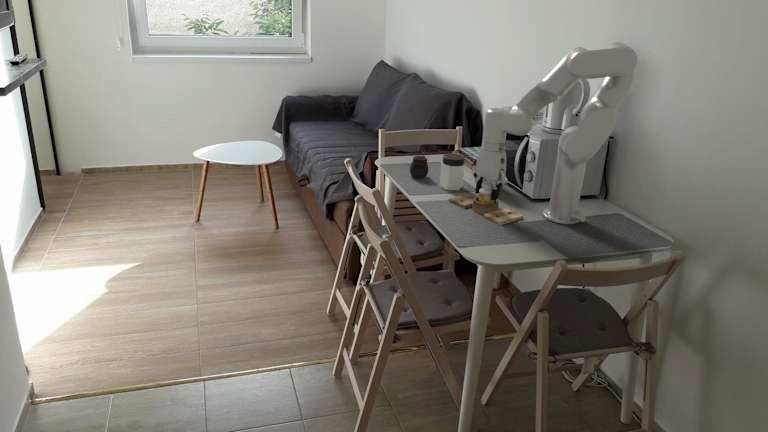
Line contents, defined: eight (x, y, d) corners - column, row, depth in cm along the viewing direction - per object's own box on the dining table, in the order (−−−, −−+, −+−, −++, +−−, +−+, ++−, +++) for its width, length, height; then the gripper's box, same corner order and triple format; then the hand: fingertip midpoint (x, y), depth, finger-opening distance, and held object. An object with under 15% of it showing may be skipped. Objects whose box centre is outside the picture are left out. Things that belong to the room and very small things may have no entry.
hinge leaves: (522, 218, 215) (524, 208, 214) (501, 224, 209) (502, 215, 207) (470, 195, 233) (471, 186, 232) (448, 201, 226) (449, 191, 225)
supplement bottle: (493, 212, 218) (497, 186, 215) (478, 211, 218) (481, 185, 215) (491, 207, 223) (494, 181, 220) (476, 206, 223) (479, 180, 220)
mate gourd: (407, 178, 247) (409, 153, 243) (412, 172, 254) (414, 148, 250) (425, 181, 245) (427, 156, 241) (429, 175, 252) (431, 151, 248)
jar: (457, 192, 235) (461, 161, 231) (436, 188, 238) (439, 157, 234) (464, 185, 243) (468, 155, 239) (444, 181, 246) (447, 151, 241)
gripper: (520, 151, 208) (513, 202, 215) (481, 138, 221) (475, 186, 227) (505, 154, 204) (498, 206, 211) (466, 140, 216) (461, 190, 223)
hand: (486, 195), depth 219 cm, fingers open, 6 cm apart
